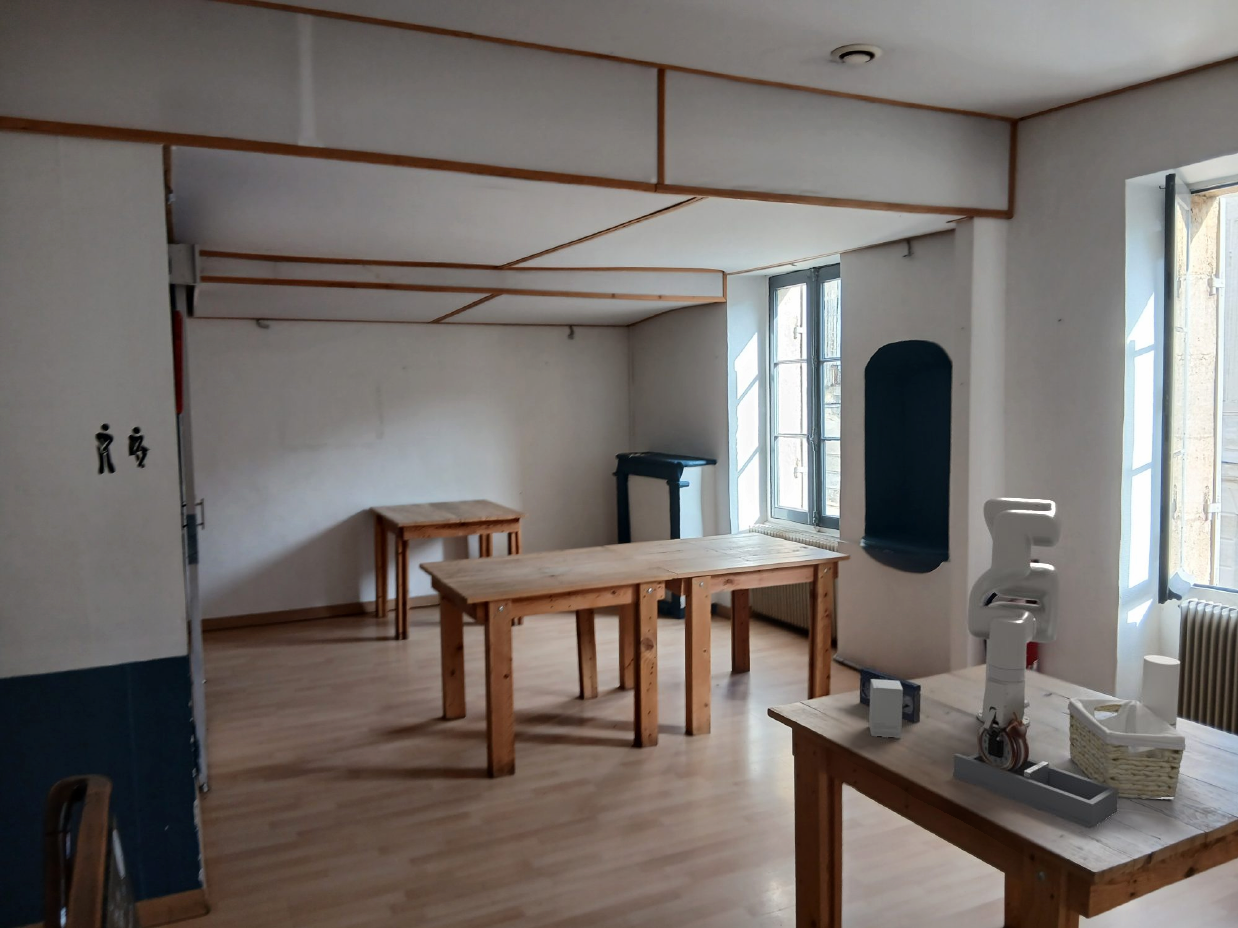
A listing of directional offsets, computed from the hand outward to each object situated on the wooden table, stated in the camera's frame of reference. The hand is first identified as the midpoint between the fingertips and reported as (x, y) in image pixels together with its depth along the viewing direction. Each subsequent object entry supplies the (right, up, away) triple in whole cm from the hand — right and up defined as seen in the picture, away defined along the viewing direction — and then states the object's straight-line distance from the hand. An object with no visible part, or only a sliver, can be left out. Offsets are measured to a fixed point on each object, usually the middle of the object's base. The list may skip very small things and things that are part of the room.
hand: (1002, 751), depth 195 cm
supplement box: (-17, -5, +29) cm, 34 cm away
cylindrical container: (+40, -7, +11) cm, 42 cm away
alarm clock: (0, -5, 0) cm, 5 cm away
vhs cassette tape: (-12, -4, +43) cm, 45 cm away
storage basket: (+28, -7, +3) cm, 29 cm away
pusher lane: (+4, -7, -5) cm, 10 cm away
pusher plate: (+5, -6, -6) cm, 10 cm away
